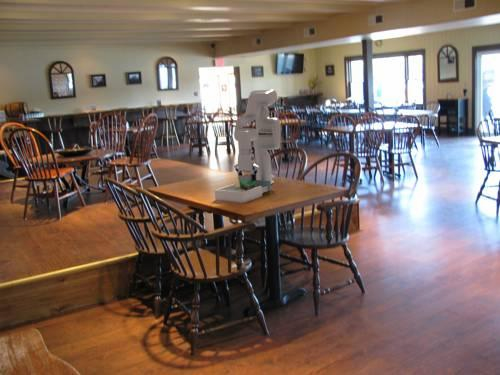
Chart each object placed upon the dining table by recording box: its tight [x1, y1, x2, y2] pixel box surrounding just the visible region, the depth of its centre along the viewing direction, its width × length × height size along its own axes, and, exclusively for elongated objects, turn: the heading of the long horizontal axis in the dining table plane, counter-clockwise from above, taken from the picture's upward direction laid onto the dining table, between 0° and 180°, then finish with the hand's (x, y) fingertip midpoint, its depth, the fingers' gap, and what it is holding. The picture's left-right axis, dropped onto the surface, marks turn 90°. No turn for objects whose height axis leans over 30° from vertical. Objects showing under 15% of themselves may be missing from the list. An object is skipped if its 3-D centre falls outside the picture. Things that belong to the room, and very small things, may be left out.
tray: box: [228, 179, 272, 194], centre depth 303 cm, size 18×20×6 cm
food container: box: [237, 173, 255, 191], centre depth 302 cm, size 12×6×10 cm, turn 133°
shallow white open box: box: [214, 183, 263, 204], centre depth 295 cm, size 19×20×6 cm
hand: (247, 180), depth 302 cm, fingers open, 9 cm apart
